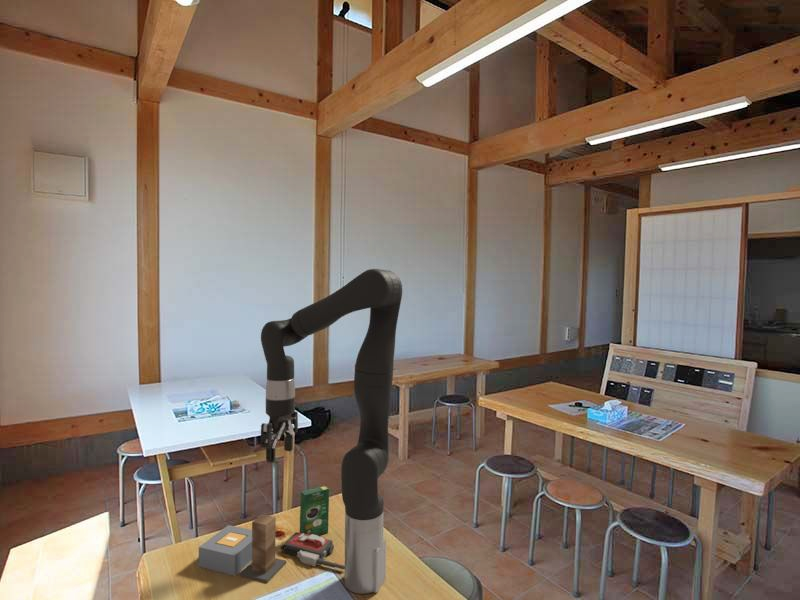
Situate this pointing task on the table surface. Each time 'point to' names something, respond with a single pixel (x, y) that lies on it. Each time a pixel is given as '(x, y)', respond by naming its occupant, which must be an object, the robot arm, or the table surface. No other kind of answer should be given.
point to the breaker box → (226, 552)
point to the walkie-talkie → (310, 549)
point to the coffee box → (314, 511)
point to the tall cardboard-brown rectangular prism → (263, 543)
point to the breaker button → (231, 539)
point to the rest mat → (263, 576)
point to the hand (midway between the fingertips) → (280, 456)
